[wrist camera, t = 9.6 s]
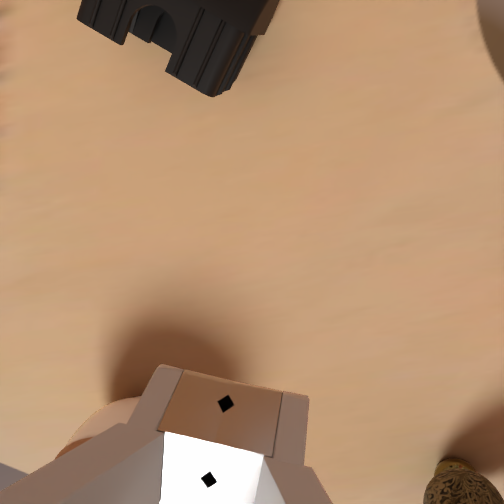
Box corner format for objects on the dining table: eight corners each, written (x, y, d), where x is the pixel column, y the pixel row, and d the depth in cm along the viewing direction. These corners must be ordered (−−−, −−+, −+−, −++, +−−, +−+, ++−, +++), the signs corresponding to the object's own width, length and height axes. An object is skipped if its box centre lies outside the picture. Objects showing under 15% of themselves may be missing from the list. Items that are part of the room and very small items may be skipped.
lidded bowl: (119, 351, 45) (56, 442, 35) (236, 413, 46) (207, 519, 36) (79, 431, 51) (15, 529, 41) (184, 485, 51) (146, 594, 41)
